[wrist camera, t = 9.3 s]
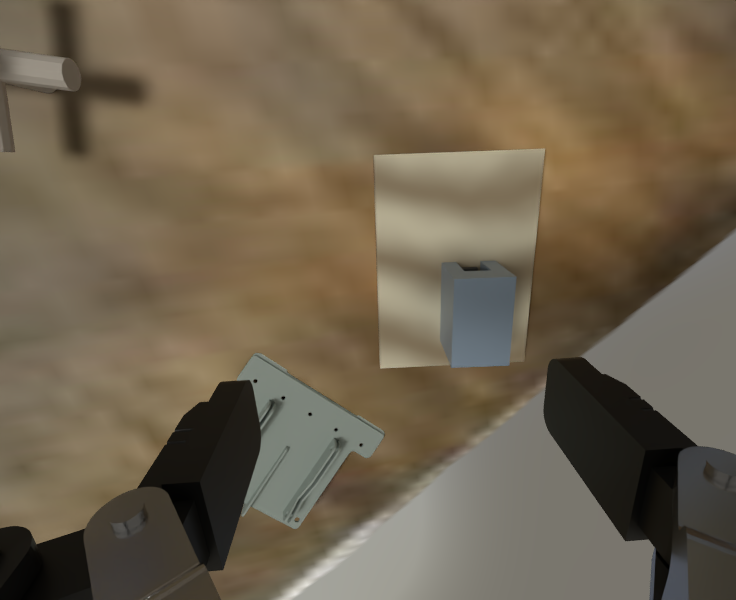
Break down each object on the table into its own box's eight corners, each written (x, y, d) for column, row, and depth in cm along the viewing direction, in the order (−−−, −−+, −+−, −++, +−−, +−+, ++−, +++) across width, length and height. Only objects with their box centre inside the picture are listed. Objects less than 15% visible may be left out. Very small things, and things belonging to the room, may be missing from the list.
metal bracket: (309, 559, 38) (163, 485, 34) (306, 520, 43) (180, 453, 40) (396, 431, 38) (261, 345, 35) (382, 409, 44) (264, 334, 41)
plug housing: (441, 262, 33) (454, 279, 28) (495, 260, 33) (516, 276, 28) (439, 340, 35) (451, 367, 31) (490, 338, 35) (509, 365, 31)
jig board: (373, 155, 32) (375, 154, 28) (538, 149, 32) (561, 147, 28) (379, 362, 37) (382, 382, 34) (518, 355, 38) (535, 375, 34)
